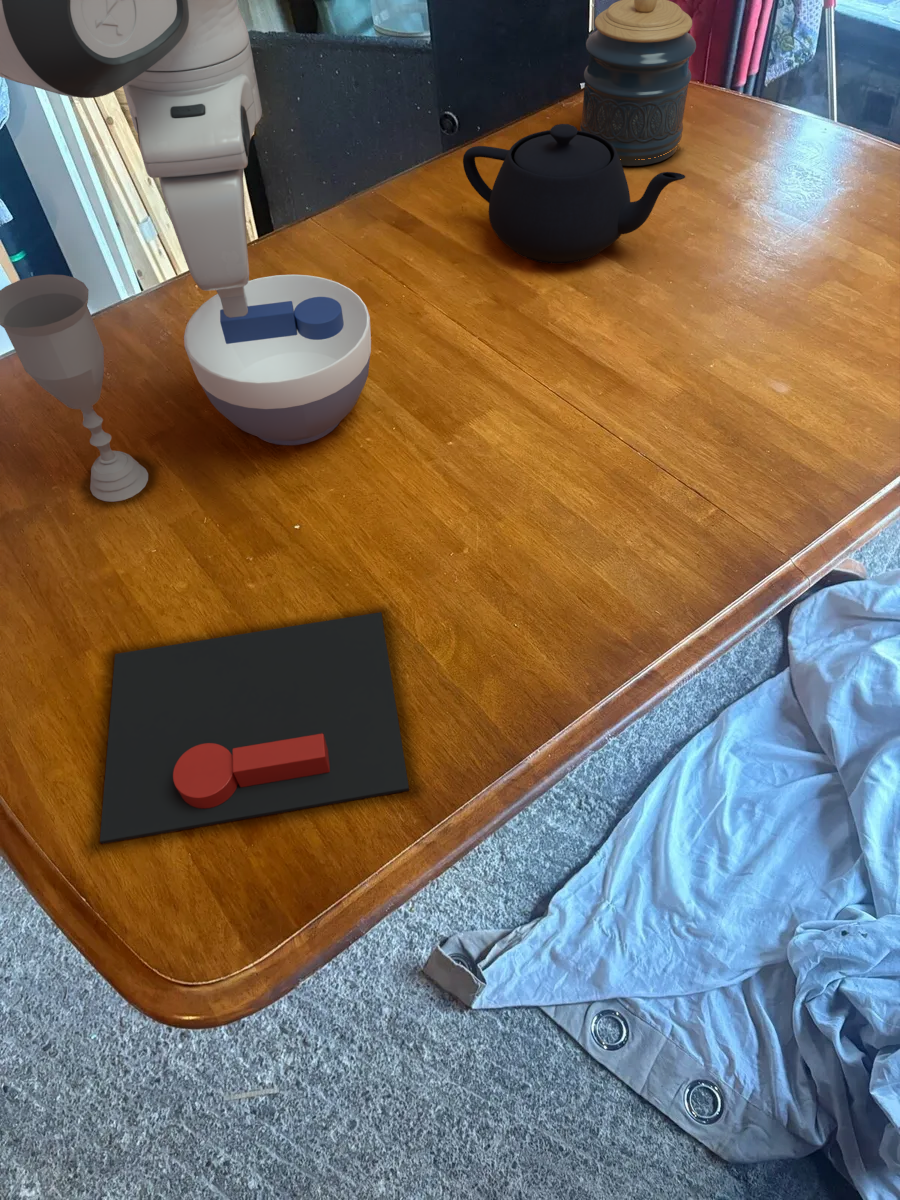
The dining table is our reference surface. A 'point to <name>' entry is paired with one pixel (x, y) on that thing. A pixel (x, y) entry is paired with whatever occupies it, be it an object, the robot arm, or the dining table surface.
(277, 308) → the blue spoon
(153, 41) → the robot arm
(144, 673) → the mat
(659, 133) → the canister
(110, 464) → the chalice
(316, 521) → the dining table surface
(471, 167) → the teapot
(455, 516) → the dining table surface
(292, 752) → the red spoon
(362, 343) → the bowl
